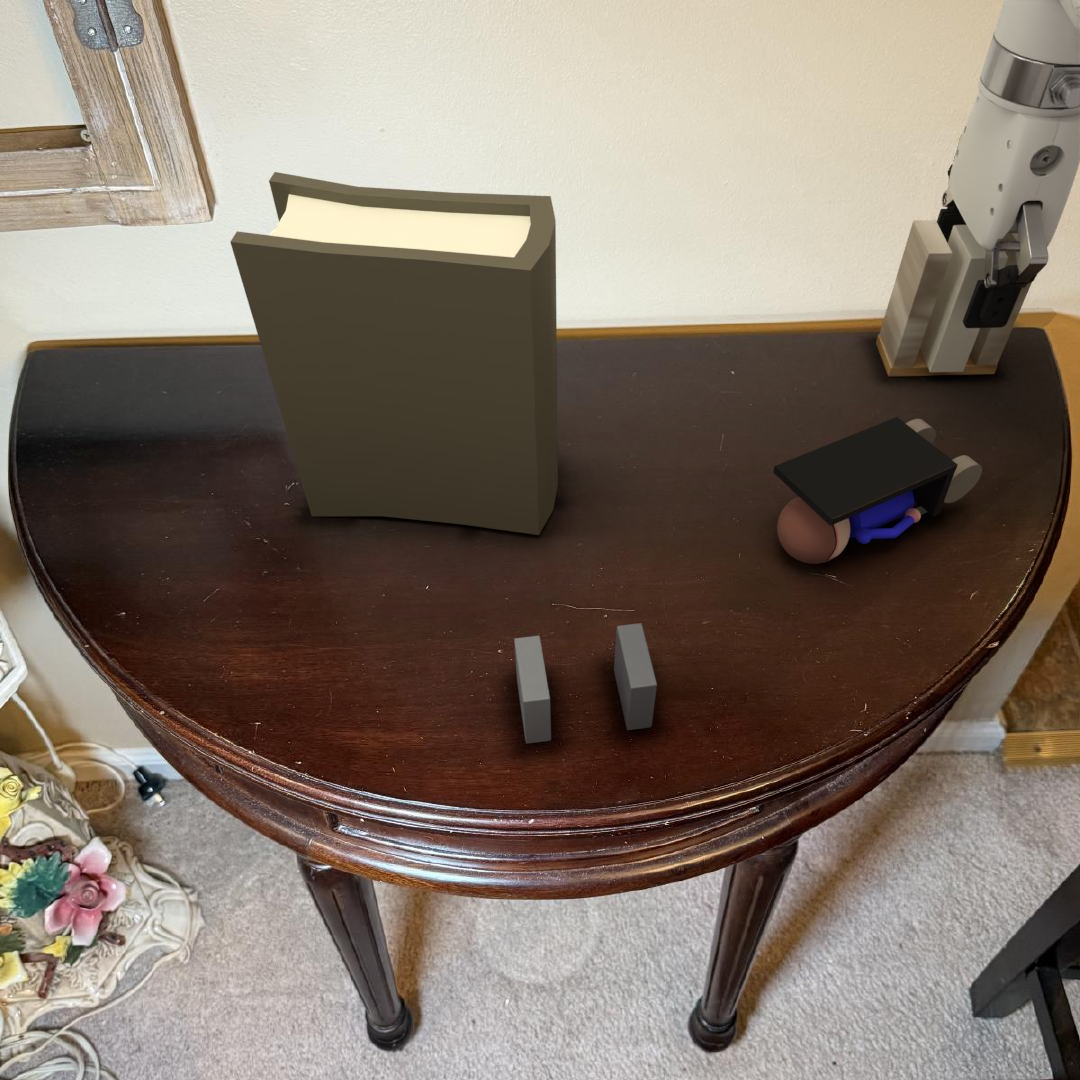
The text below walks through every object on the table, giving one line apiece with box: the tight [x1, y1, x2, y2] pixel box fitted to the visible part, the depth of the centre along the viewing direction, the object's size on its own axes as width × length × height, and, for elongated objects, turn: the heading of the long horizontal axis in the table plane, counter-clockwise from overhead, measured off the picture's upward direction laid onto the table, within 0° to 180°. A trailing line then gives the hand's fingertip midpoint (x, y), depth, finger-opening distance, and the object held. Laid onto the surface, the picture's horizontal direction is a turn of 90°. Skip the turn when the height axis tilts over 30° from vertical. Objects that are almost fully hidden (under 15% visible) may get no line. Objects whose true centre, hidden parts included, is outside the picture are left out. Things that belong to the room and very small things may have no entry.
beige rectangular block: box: [920, 225, 1008, 373], centre depth 79 cm, size 3×5×11 cm, turn 1°
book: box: [229, 171, 559, 536], centre depth 66 cm, size 18×8×24 cm, turn 81°
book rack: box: [875, 219, 1033, 378], centre depth 80 cm, size 9×5×12 cm, turn 91°
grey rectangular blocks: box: [513, 622, 658, 744], centre depth 61 cm, size 8×5×5 cm, turn 98°
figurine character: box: [773, 416, 983, 565], centre depth 70 cm, size 7×8×15 cm
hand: (964, 288), depth 78 cm, fingers open, 9 cm apart
